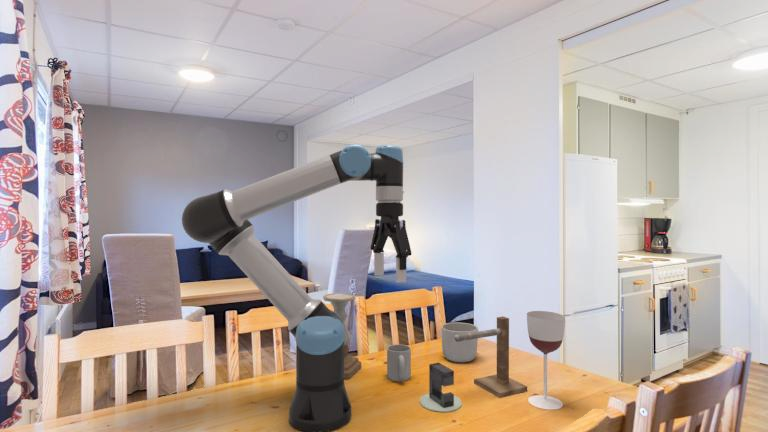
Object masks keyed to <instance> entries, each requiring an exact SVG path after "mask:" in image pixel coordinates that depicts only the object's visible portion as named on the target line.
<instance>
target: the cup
mask: <svg viewBox="0 0 768 432" xmlns="http://www.w3.org/2000/svg"><path fill="white" fill-rule="evenodd" d="M411 355H412V348H411V346H410V345H406V344H391V345H388V346H387V347H386V377H387V379H388V380H389V381H390V380H391V381H392V382H399V383H400V382H406V381H409V380H410V378H411V376H412V360H411V359H412V356H411Z"/></svg>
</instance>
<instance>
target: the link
mask: <svg viewBox="0 0 768 432" xmlns="http://www.w3.org/2000/svg"><path fill="white" fill-rule="evenodd" d="M428 367H429V370H428V371H429V372H428V373H429V379H428V380H429V381H428V383H429V387H428V389H429V392H428V393H429V398H431V399H432V400H433V401H435V402H436V403H438V404H439V405H440V406H442V407H443V408H447V407H451V406H454V395H455V394H454V393H453V392H451V391H449V392H443V391H442V387H444V388H445V387H449V386H453V385H455V370H453V369H451V368H450V367H448V366H446V365H444V364H442V363H441V362H434V363H430V364H429V365H428ZM443 393H445V394H443Z"/></svg>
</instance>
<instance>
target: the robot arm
mask: <svg viewBox="0 0 768 432" xmlns="http://www.w3.org/2000/svg"><path fill="white" fill-rule="evenodd" d="M366 148H367V147H366ZM366 148H365V147H364V146H362V145H360V144H356V143H354V144H349V145H346V146H345V147H344V148H342V149H341V150H338V151H336V152H334V153H331V154H329V155H326V156H322V157H320V158H317V159H315V160H312V161H310V162H307V163H304V164H301V165H299V166H296V167H294V168H291V169H289V170H285V171H283V172H280V173H277V174H275V175H273V176H270V177H267V178H264V179H261V180H259V181H256V182H253V183H251V184H248V185H245V186H243V187H241V188H238V189H234V190H233V191H232V190H229V189H226V188H225V189H222V190H220V191H217V192H214V193H210V194H207V195H202V196H199V197H196V198H195V199H193V200H191V201H190V202H188V204H187V205H186V206H185V208H184V210H183V212H182V215H181V224H182V228H183V230H184V232H185V233H186V234H187V236H189V237H190V238H191V239H192V240H194V241H197V242H199V243H204V244H206V243H207V244H209V245H210V246H211V247H212V249H214V251H216V253H217V254H218V255H220V256H228V257H229V258H230V260H231V261H232V262H234V264H235V265H236V266H237V267H238V268H239V269H240V270H241V271H242V272H243V273H244V275H245V276H247V278H248V279H249V280H250V282H252V284H253V285H254V286H255V287H257V289H258V290H259V291H260V292H261V293H262V294H263V295H264V297H266V299H267V300H268V301H269V303H271V304H272V305H273V306H274V307H275V308H276V309H277V311H278V312H279V313H280V314H281V315H282V316H283V317H284V318H285V319H286V320H287V323H288V325H287V329H288V332H290V333H291V334H292V335H293V336H294V338H295V344H296V345H295V349H296V350H295V352H296V353H295V354H296V355H295V360H296V361H295V364H296V365H295V366H296V367H295V368H296V369H295V373H296V374H295V377H296V378H295V384H296V385H295V389H294V390H295V391H294V393H293V395H292V396H293V397H292V400H291V403H290V406H289V409H288V422H289V424H290V426H292V427H293V428H295V430H298V431H301V432H331V431H334V430H337V429H340V428H342V427H344V426H345V425H347V424H348V423H349V422H350V421H351V419H352V405H351V402H350V401H351V400H350V397H349V395H348V392H347V389H346V385H345V379H344V339H345V330H344V325H343V323H342V320H341V318H340V317H339V316H338V315H337V314H336V313H335V312H334V310H332V309H330V308H329V307H327V306H326V304H325V303H324V302H323V301H322V300H321V299H316V298H312V297H311V296H310V295H309V294H308V293H307V292H306V291H305V290H304V288H303V287H302V286H301V285H300V284H299V283H298V282H297V281H296V279H295V278H294V277H293V276H292V275H291V274H290V272H288V271H287V270H286V269H285V268H284V267H283V265H282V264H281V263H280V262H279V261H278V260H277V259H276V258H275V256H274V255H273V254H272V253H271V252H270V251H269V250H268V249H267V248H266V247H265V245H264V244H263V243H262V242H261V241H260V240H259V239H258V237H256V235H255V234H254V229H255V228H254V224H252V223H251V221H250V220H249V219H252V218H255V217H258V216H259V215H260V216H261V215H263V214H265V213H267V212H270V211H273V210H276V209H278V208H280V207H283V206H284V207H285V206H286V205H288V204H291V203H293V202H296V201H299V200H302V199H304V198H307V197H309V196H312V195H314V194H317V193H320V192H322V191H325V190H327V189H330V188H333V187H335V186H338V185H340V184H344V183H346V182H349V181H355V182H356V181H362V182H363V181H371V182H373V181H375V201H377V202H376V204H375V215H376V217H380V218H375V221H374V230H373V233H372V237H371V238H372V239H371V242H370V243H371V244H370V251H373V254H374V255H373V258H374V259H373V260H374V261H373V264H374V265H373V266H374V268H373V269H374V271H373V272H374V276H385V273H384V272H385V271H384V269H385V265H384V264H385V256H384V254H385V250H384V248H385V245H386V242H387V240H388V238H390V239H391V242H392V244H393V248H394V250H395V252H396V255H395V283H398V284H399V283H406V282H407V258H408V257H409V256H412V249H411V246H410V242H409V238H408V233H407V227H406V220H405V219H399V218H400V217H403V216H404V204H403V203H402V202H403V200H404V192H405V191H404V188H403V187H404V158H403V157H404V156H403V149H402V148H401V147H400V146H397V145H380V146H377V147H376V149H375V152H372V153H370V152H369V151H368V149H366Z"/></svg>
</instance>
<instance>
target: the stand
mask: <svg viewBox="0 0 768 432" xmlns="http://www.w3.org/2000/svg"><path fill="white" fill-rule="evenodd" d="M495 336H496V374H492V375H487V376H482V377H477V378H474V379H473V383H474V384H475V385H476V386H479V387H480V388H482V389H484V390H485V391H487V392H488V393H491V394H492V395H494V396H496V397H498V398H499V399H500V398H504V397H508V396H511V395H512V396H513V395H517V394H520V393H525V392H528V386H527V385H524V384H523V383H521V382H518V381H517V380H514V379H512V378H511V377H510V318H509V317H506V316H497V317H496V328H492V329H485V330H480V331H479V330H478V332H471V333H465V334H458V335H455V341H456V342H458V341H464V340H471V339H477V338H478V339H482V338H488V337H495Z"/></svg>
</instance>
